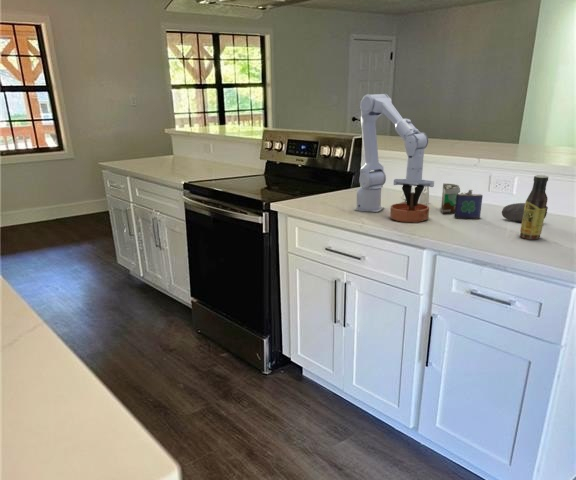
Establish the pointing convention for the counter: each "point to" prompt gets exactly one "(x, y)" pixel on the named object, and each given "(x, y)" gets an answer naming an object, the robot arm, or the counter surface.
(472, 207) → the flask
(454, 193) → the food container
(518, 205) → the perforated stone tool
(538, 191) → the sauce bottle
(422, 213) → the bowl
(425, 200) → the shaker set
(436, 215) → the counter surface
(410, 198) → the stick
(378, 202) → the robot arm
